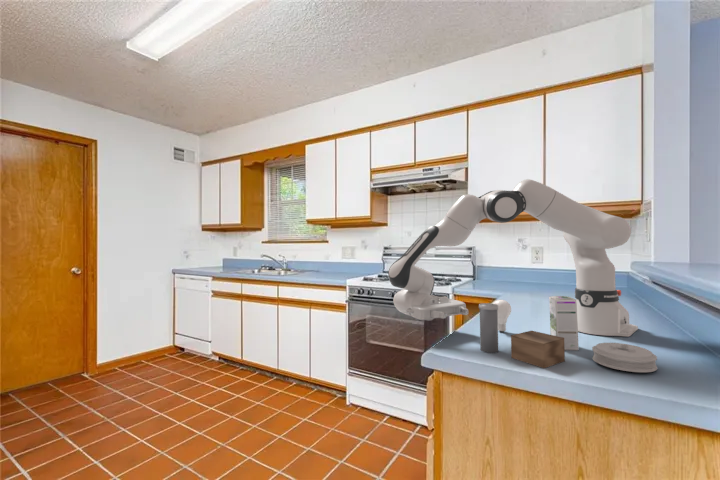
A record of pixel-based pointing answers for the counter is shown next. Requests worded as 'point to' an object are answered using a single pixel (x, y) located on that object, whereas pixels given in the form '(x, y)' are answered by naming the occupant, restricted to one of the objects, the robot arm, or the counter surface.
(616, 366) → the lid
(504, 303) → the lightbulb
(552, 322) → the syrup box
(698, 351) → the counter surface
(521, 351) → the walnut stand
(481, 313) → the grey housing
